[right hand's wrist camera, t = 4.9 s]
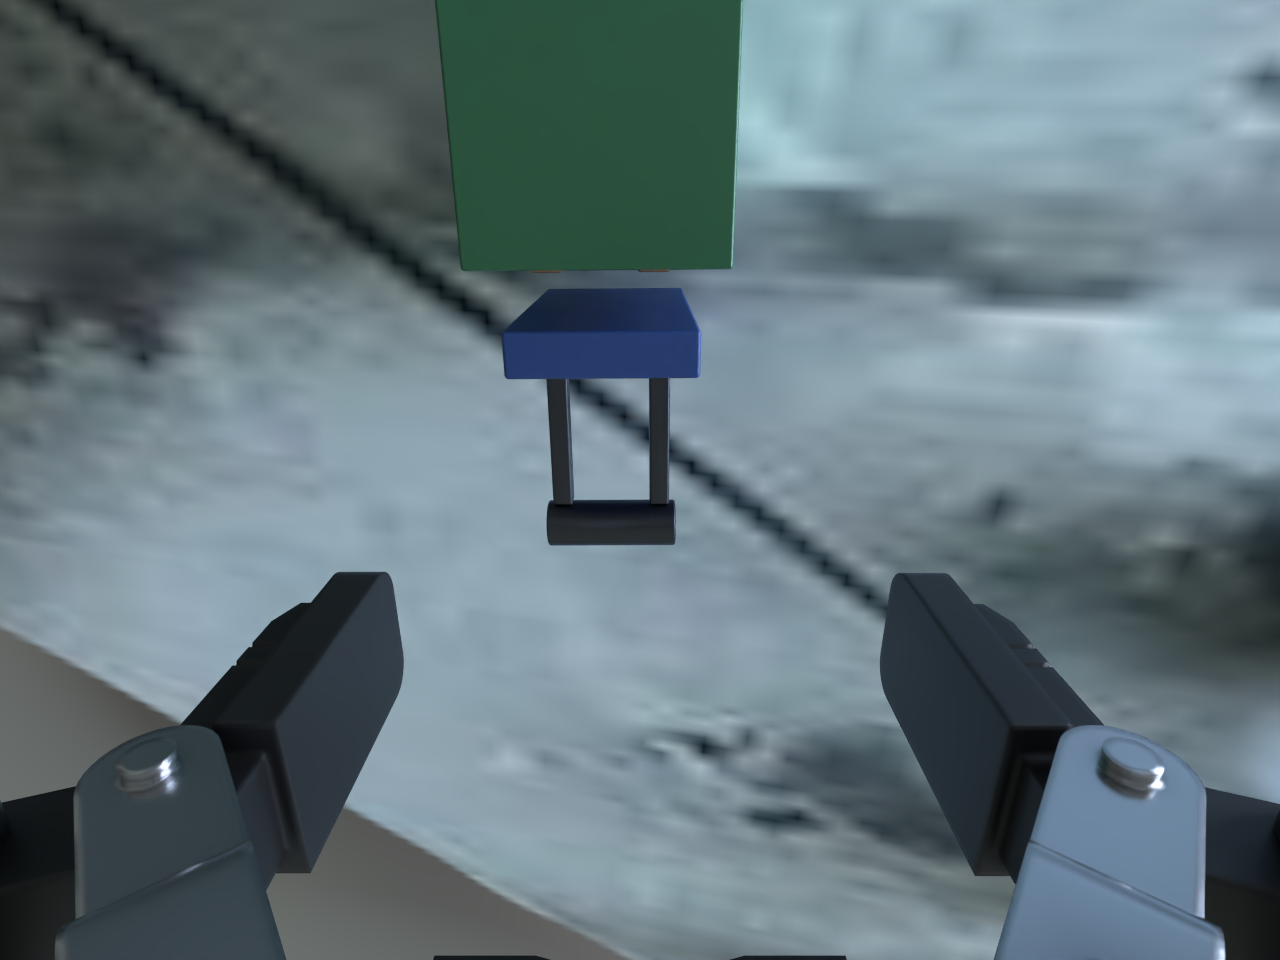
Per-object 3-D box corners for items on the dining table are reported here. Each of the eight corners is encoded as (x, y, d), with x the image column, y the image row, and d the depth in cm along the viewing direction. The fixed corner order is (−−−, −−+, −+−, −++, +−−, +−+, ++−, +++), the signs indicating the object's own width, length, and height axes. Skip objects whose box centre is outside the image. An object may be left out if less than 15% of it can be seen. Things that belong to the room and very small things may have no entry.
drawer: (679, 475, 28) (695, 592, 20) (557, 476, 28) (521, 593, 20) (691, -400, 19) (730, -885, 11) (510, -398, 19) (404, -878, 11)
